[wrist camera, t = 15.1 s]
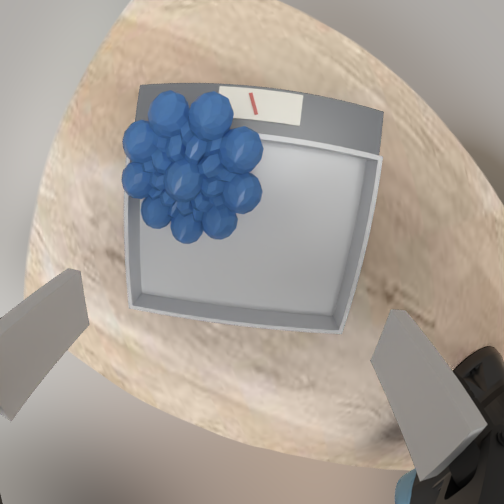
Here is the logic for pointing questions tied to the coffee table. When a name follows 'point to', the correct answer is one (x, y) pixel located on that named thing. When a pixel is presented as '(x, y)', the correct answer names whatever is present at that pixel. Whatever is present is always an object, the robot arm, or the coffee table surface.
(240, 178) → the grapes
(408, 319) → the robot arm
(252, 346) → the coffee table surface
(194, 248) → the scale
